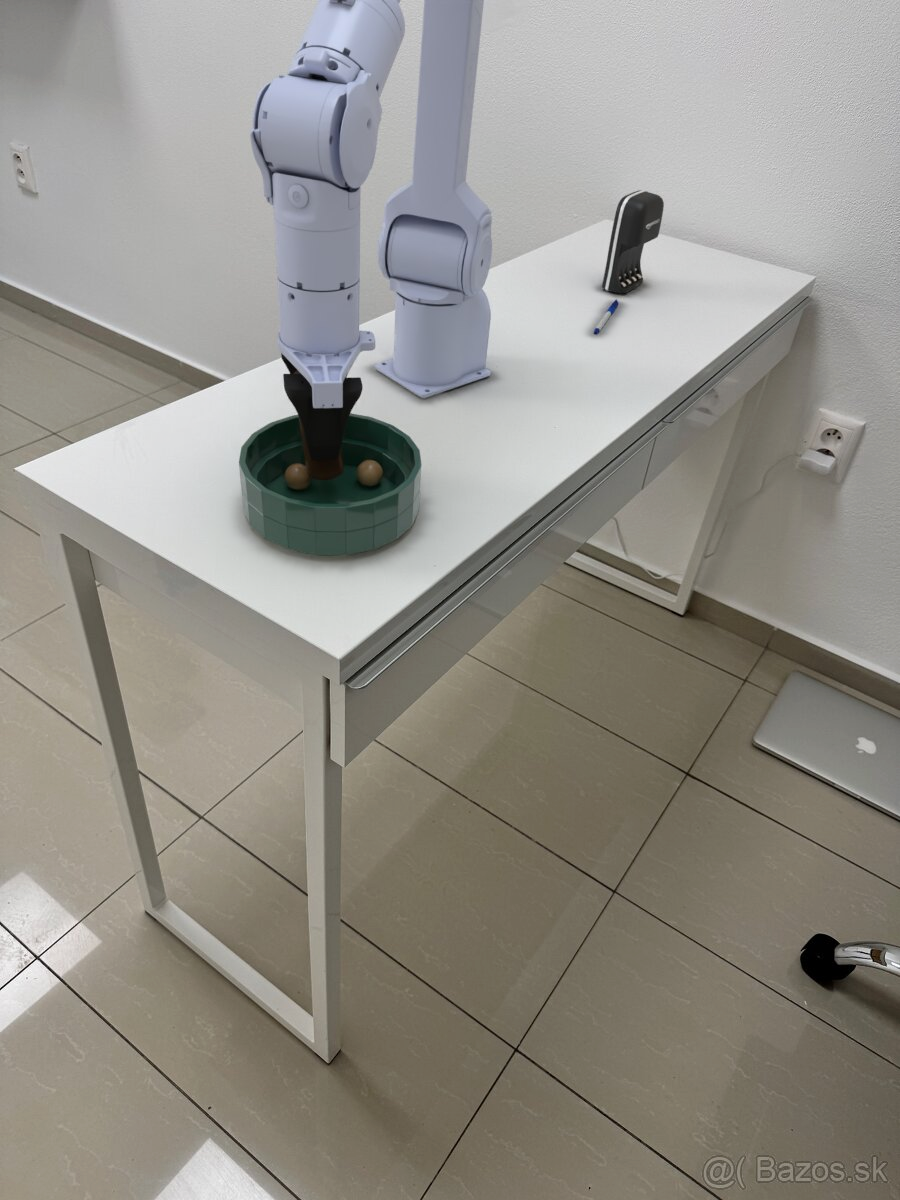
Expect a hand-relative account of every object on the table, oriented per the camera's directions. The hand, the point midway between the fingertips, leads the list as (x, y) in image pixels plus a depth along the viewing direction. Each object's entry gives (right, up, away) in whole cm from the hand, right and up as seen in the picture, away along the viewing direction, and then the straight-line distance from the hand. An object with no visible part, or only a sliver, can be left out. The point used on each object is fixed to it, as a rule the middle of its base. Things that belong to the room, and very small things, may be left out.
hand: (322, 446), depth 70 cm
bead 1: (-2, -2, +2) cm, 4 cm away
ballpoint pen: (+29, +22, +36) cm, 51 cm away
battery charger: (+33, +28, +44) cm, 62 cm away
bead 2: (+4, -2, +3) cm, 5 cm away
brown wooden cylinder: (0, -2, +1) cm, 2 cm away
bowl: (+1, -5, +2) cm, 5 cm away
